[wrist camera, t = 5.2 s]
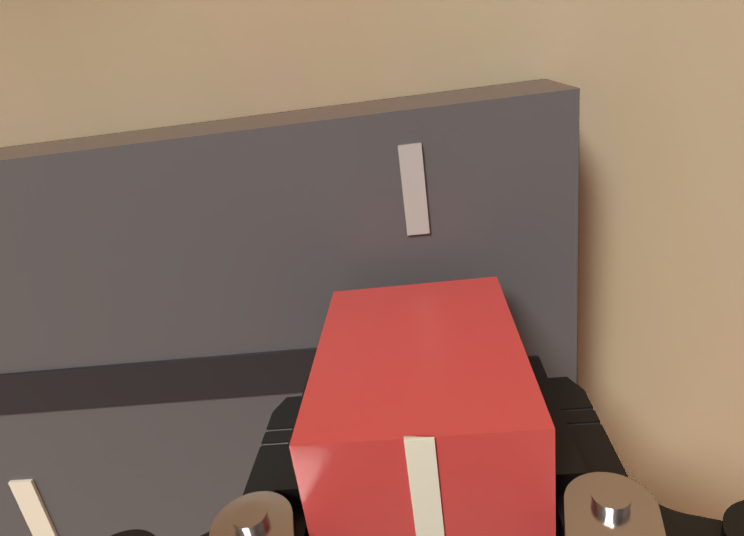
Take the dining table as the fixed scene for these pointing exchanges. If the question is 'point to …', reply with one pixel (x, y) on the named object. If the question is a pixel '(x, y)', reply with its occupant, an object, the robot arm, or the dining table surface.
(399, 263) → the console
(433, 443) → the fader
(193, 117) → the dining table surface
